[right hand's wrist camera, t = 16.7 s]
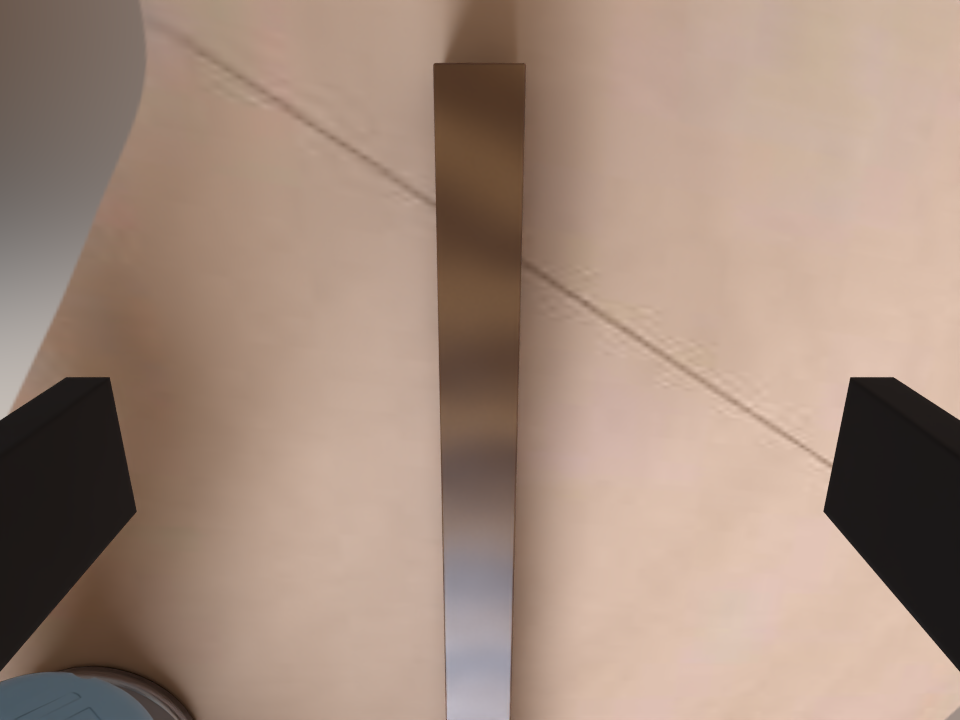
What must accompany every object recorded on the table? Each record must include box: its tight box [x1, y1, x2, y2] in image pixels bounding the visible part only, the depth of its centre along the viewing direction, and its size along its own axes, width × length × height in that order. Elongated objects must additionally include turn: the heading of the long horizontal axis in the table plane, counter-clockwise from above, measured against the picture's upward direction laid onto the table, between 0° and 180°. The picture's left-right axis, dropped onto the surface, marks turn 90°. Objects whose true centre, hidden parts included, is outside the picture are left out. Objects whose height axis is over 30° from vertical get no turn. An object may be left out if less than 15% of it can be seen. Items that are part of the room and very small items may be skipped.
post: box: [433, 63, 526, 720], centre depth 47 cm, size 60×4×7 cm, turn 0°
